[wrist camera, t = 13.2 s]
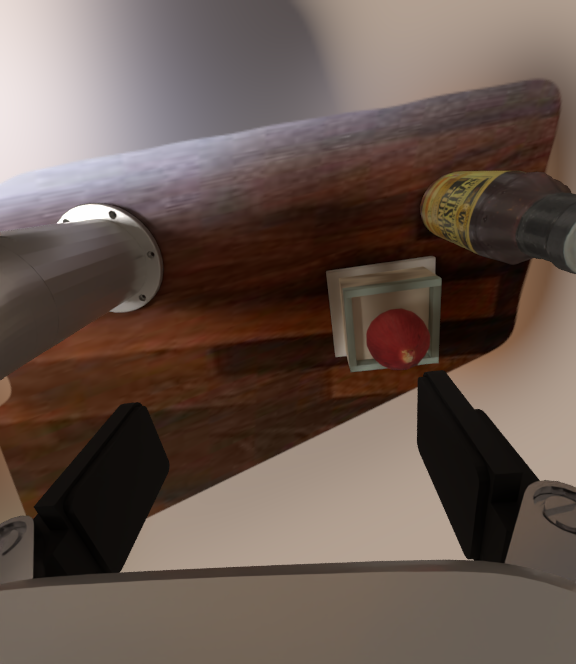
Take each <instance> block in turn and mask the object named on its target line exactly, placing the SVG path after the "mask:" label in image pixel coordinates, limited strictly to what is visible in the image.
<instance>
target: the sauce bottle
mask: <svg viewBox="0 0 576 664" xmlns="http://www.w3.org/2000/svg"><path fill="white" fill-rule="evenodd" d="M420 212H421V217H422V220H423V223H424V225H425V227H427V228H428V229H429V230H430V231H431V232H432V233H433V234H435V235H437V236H439V237H441V238H443V239H446V240H448V241H450V242H452V243H454V244H457V245H459V246H461V247H463V248H466V249H468V250H470V251H472V252H474V253H476V254H478V255H481V256H484V257H487V258H491V259H495V260H498V261H501V262H505V263H508V264H513V265H514V264H518V263H520V262H523V261H526V260H529V259H532V258H538V259H544V260H547V261H550V262H552V263H553V264H554V265H555V266H556V267H557V268H559V269H561V270H564V271H567V272H570V273H574V274H576V194H572V193H571V191H570V189H569V188H568V186H566V185H564V184H563V183H561V182H560V181H558V180H555V179H553V178H552V177H551V176H549V175H547V174H546V173H542V172H532V173H530V172H529V173H526V172H522V171H459V172H453V173H450V174H446V175H444V176H442V177H440V178H439V179H437V180H436V181H434V182H433V183H432V184H431V185H430V186H429V188H428V189H427V191H426V192H425V194H424V196H423V198H422V202H421V205H420Z"/></svg>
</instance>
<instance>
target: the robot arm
mask: <svg viewBox="0 0 576 664" xmlns="http://www.w3.org/2000/svg"><path fill="white" fill-rule="evenodd" d="M115 213H116V215H117V216H116V215H115ZM152 252H153V253H154V254H155V256H154V255H153V254H152ZM162 279H163V260H162V256H161V252H160V249H159V247H158V245H157V243H156V240H155V239H154V237H153V236H152V234H151V233H150V231H149V230H148V229H147V228H146V227H145V226H144V224H143V223H142V222H141V221H140V220H138V219H137V218H136V217H134V216H133V215H132V214H130V213H129V212H127V211H125V210H123V209H121V208H119V207H116V206H113V205H110V204H103V203H89V204H83V205H79V206H76V207H74V208H72V209H70V210H69V211H67V212H66V213H65V214H64V215H63V216H62V217H61V218H60V220H59V221H58V222H57V224H51V225H44V226H37V227H29V228H22V229H15V230H8V231H1V232H0V380H2V379H3V378H4V377H6V376H7V375H9V374H10V373H12V372H13V371H15V370H16V369H18V368H20V367H21V366H23V365H24V364H26V363H27V362H29V361H30V360H32V359H34V358H35V357H37V356H38V355H40V354H42V353H43V352H45V351H46V350H48V349H50V348H51V347H53V346H55V345H56V344H58V343H60V342H61V341H63V340H64V339H66V338H67V337H69V336H71V335H72V334H74V333H75V332H77V331H79V330H80V329H82V328H83V327H85V326H86V325H88V324H90V323H91V322H93V321H94V320H96V319H98V318H99V317H101V316H102V315H104V314H106V313H107V312H116V313H119V312H129V311H133V310H136V309H138V308H140V307H142V306H144V305H145V304H147V303H148V302H149V301H150V300H151V299H152V298H153V297H154V296H155V295H156V293H157V292H158V290H159V288H160V285H161V282H162ZM144 295H145V296H144ZM417 411H418V412H417V445H418V449H419V452H420V455H421V457H422V459H423V462H424V464H425V466H426V468H427V470H428V473H429V475H430V477H431V480H432V482H433V484H434V487H435V489H436V491H437V493H438V496H439V498H440V500H441V502H442V505H443V507H444V509H445V512H446V514H447V516H448V519H449V521H450V523H451V525H452V528H453V530H454V532H455V535H456V537H457V539H458V541H459V544H460V546H461V548H462V551H463V553H464V555H465V556H466V558H467V559H474V561H470V560H469V561H468V560H467V561H466V560H419V561H418V560H414V561H372V562H347V563H323V564H322V563H321V564H296V565H271V566H250V567H228V568H227V567H226V568H206V569H185V570H184V569H183V570H163V571H144V572H124V573H119V572H120V571H121V570H122V568H123V566H124V564H125V562H126V560H127V558H128V555H129V553H130V551H131V549H132V547H133V545H134V543H135V541H136V539H137V537H138V534H139V532H140V530H141V528H142V526H143V524H144V522H145V520H146V518H147V516H148V514H149V512H150V510H151V507H152V505H153V503H154V501H155V499H156V497H157V495H158V493H159V491H160V489H161V487H162V484H163V482H164V480H165V478H166V476H167V474H168V472H169V461H168V458H167V456H166V453H165V451H164V449H163V446H162V444H161V441H160V439H159V436H158V434H157V432H156V429H155V427H154V424H153V422H152V419H151V417H150V415H149V412H148V410H147V408H146V407H145V406H142V404H141V403H138V402H136V403H127V404H121V405H120V406H119V407H118V408H117V409H116V411H115V412H114V413H113V414H112V415H111V417H110V418H109V419H108V420H107V421H106V422H105V424H104V425H103V426H102V427H101V428H100V429H99V431H98V432H97V433H96V434H95V435H94V437H93V438H92V439H91V440H90V441H89V442H88V444H87V445H86V446H85V447H84V448H83V449H82V451H81V452H80V453H79V454H78V455H77V457H76V458H75V459H74V460H73V461H72V462H71V464H70V465H69V466H68V467H67V468H66V469H65V471H64V472H63V473H62V474H61V475H60V477H59V478H58V479H57V480H56V481H55V482H54V484H53V485H52V486H51V487H50V488H49V489H48V491H47V492H46V493H45V494H44V495H43V497H42V498H41V499H40V500H39V501H38V502H37V504H36V505H35V506H34V508H35V510H36V511H37V513H38V514H37V515H36V517H35V518H34V519H32V518H31V517H29V516H19V517H14V518H11V519H9V520H7V521H5V522H3V523H1V524H0V664H576V487H573V486H571V485H568V484H565V483H561V482H558V481H548V480H544V481H540V480H539V479H538V478H537V477H536V475H535V474H534V473H533V472H532V470H531V469H530V468H529V467H528V465H527V464H526V463H525V462H524V460H523V459H522V458H521V457H520V455H519V454H518V453H517V452H516V451H515V449H514V448H513V447H512V446H511V444H510V443H509V442H508V441H507V439H506V438H505V437H504V436H503V435H502V433H501V432H500V431H499V429H498V428H497V427H496V426H495V425H494V423H493V422H492V421H491V420H490V418H489V417H488V416H487V415H486V414H485V413H484V412H483V411H482V410H480V409H474V408H473V407H472V406H471V405H470V403H469V402H468V401H467V399H466V398H465V397H464V395H463V394H462V393H461V392H460V390H459V389H458V388H457V386H456V385H455V384H454V383H453V381H452V380H451V379H450V377H449V376H448V375H447V373H446V372H445V371H443V370H441V371H431V372H425V373H424V375H423V377H419V378H418V404H417Z"/></svg>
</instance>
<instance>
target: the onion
mask: <svg viewBox="0 0 576 664" xmlns="http://www.w3.org/2000/svg"><path fill="white" fill-rule="evenodd" d="M366 345H367V347H368V350H369V352H370V354H371V355H372V357H373V358H374V359H375V360H376V361H377V362H378V363H379V364H380V365H382V366H384V367H387V368H389V369H392V370H407V369H409V368H411V367H414V366H416V365H418V364H419V362H420V361H421V360H422V359H423V358H424V356H425V355H426V353H427V351H428V349H429V346H430V333H429V331H428V329H427V327H426V325H425V323H424V321H423V320H422V319H421V318H420V317H419V316H418V315H416V314H415V313H414V312H412V311H409V310H405V309H402V308H400V309H390V310H388V311H386V312H384V313H381V314H379V315H378V316H377V317H376V318H375V319H374V320H373V321H372V322H371V324H370V326H369V327H368V329H367V333H366Z"/></svg>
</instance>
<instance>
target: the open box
mask: <svg viewBox="0 0 576 664" xmlns="http://www.w3.org/2000/svg"><path fill="white" fill-rule="evenodd" d="M435 261H436V258H435V257H434V256H428V257H421V258H414V259H407V260H400V261H393V262H386V263H379V264H372V265H365V266H358V267H351V268H344V269H337V270H330V271H326V275H327V285H328V294H329V303H330V312H331V321H332V330H333V339H334V348H335V356H336V357H341V356H347V359H348V363H349V367H350V371H351V372H356V371H366V370H375V369H384V368H387V367H384V366H382V365H380V364H379V363H378V362H377V361H376V360H375V359H374V358H373V357H372V355H371V354H370V352H369V350H368V347H367V345H366V333H367V329H368V327H369V326H370V324H371V322H372V321H373V320H374V319H375V318H376V317H377V316H378V315H379V314H381V313H384V312H386V311H388V310H390V309H400V308H402V309H405V310H409V311H412V312H414V313H415V314H416V315H418V316H419V317H420V318H421V319H422V320H423V321H424V323H425V325H426V327H427V329H428V331H429V333H430V346H429V349H428V351H427V353H426V355H425V356H424V358H423V359H422V360H421V361H420V362H419V364H418V365H422V364H431V363H438V357H439V332H440V307H441V282H442V278H440V277H439V276H437V275H436V274H435Z"/></svg>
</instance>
